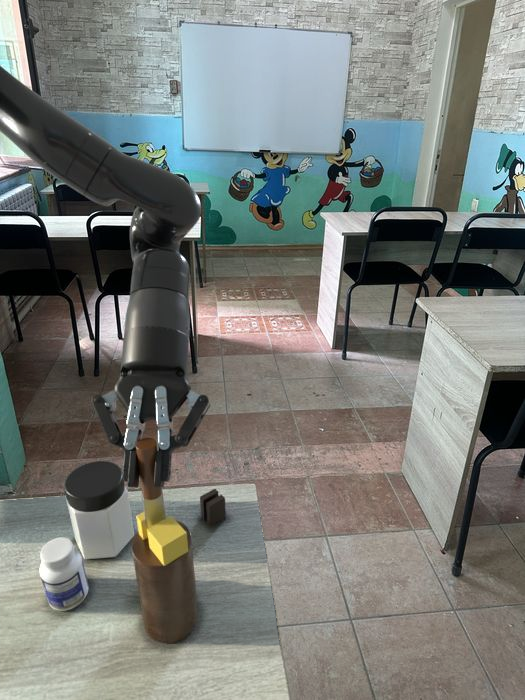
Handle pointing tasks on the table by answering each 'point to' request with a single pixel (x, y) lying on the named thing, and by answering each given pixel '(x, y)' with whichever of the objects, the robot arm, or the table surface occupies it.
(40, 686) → the table surface
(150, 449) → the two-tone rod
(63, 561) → the pill bottle
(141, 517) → the block
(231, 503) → the table surface
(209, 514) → the knife stand
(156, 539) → the butter block
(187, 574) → the butter stand
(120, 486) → the jar
